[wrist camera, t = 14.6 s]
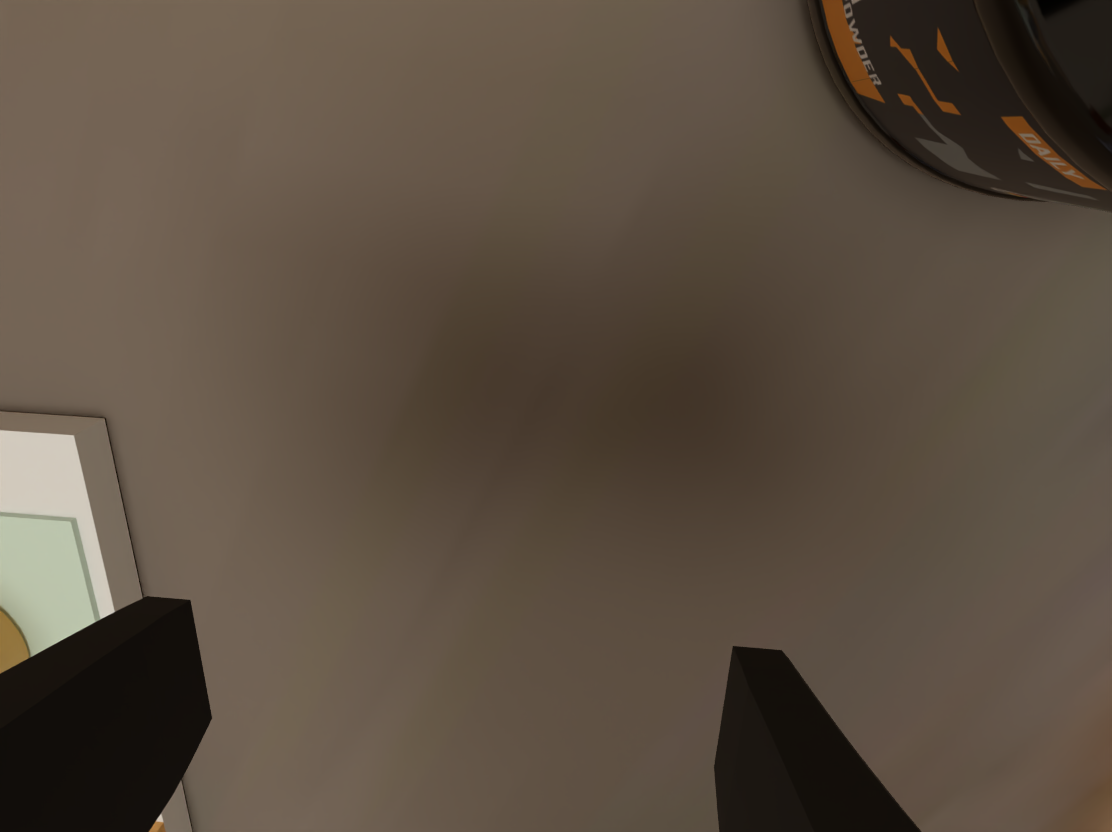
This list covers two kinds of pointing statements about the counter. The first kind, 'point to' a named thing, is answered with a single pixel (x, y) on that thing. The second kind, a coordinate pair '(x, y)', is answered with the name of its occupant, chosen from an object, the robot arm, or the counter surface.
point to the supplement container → (982, 90)
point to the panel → (65, 539)
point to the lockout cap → (10, 644)
